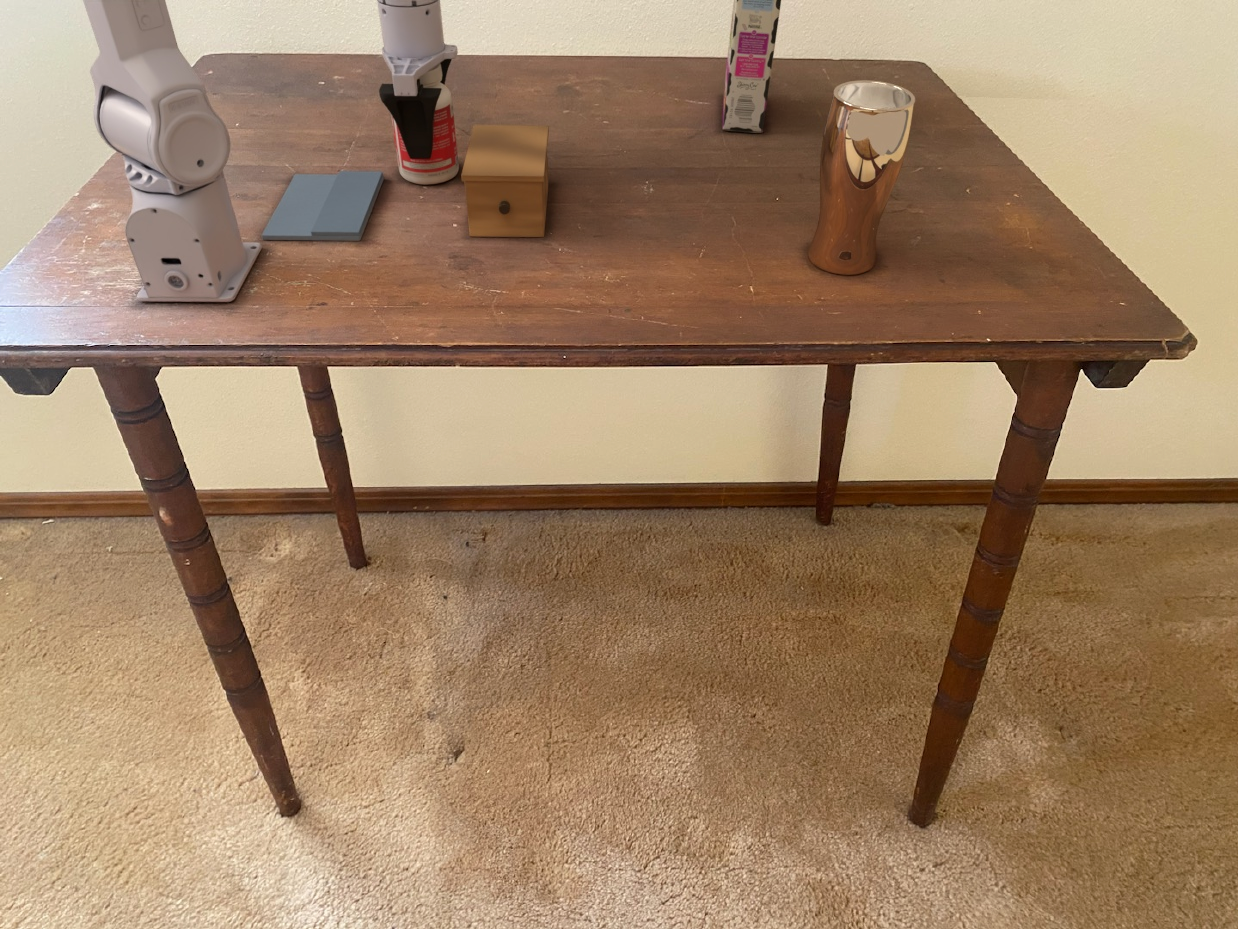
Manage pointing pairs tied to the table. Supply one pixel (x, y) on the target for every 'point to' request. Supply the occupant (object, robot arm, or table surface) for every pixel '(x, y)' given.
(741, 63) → the candy bar box
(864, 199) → the beer glass
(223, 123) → the robot arm
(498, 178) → the birch box
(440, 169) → the pill bottle
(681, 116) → the table surface
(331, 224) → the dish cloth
